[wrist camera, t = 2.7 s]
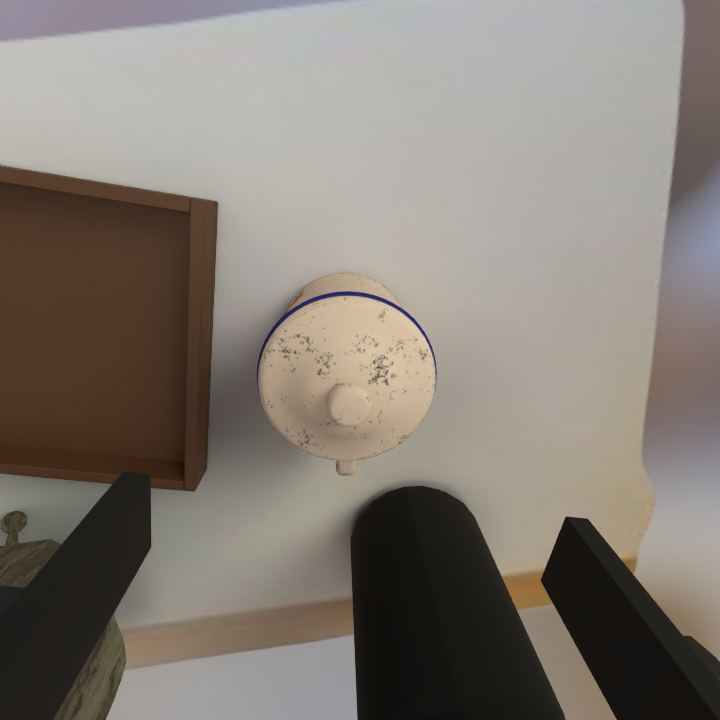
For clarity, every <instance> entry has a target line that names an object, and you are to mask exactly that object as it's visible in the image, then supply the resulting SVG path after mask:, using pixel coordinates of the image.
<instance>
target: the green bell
mask: <svg viewBox="0 0 720 720" xmlns="http://www.w3.org/2000/svg"><path fill="white" fill-rule="evenodd" d="M26 524H27V516H26V515H25V514H24V513H23V512H19V511H14V512H11V513H8V514H6V516H5V517H4V518H3V519H2V520H1V522H0V529H1V530H2V531H4V532H5V533H8V537H7V541H6V545H5V546H0V586H10V587H23V588H26V587H27V585H28V584H29V583H30V582H31V581H32V579H33V578H34V577H35V576H36V575H37V573H38V572H39V571H40V570H41V569H42V567H43V566H44V565H45V564H46V563H47V562H48V560H49V559H50V558H51V557H52V556H53V554H54V553H55V552H56V551H57V550H58V548H59V547H60V546H61V544H59V543H57V542H55V541H53V540H52V539H48V540H41V541H34V542H27V543H20V544H18V532H19V531H21V530H22V529H23V528H24V527H25V525H26ZM125 664H126V654H125V646H124V641H123V638H122V635H121V632H120V629H119V627H118V624H117V622H116V619H115V617H114V614H113V615H112V617H111V619H110V621H109V622H108V624H107V626H106V628H105V629H104V631H103V633H102V635H101V636H100V638H99V640H98V642H97V643H96V645H95V647H94V649H93V651H92V652H91V654H90V656H89V658H88V659H87V661H86V663H85V665H84V666H83V668H82V670H81V672H80V673H79V675H78V677H77V679H76V680H75V682H74V684H73V686H72V688H71V689H70V691H69V693H68V695H67V696H66V698H65V700H64V702H63V703H62V705H61V707H60V709H59V710H58V712H57V714H56V716H55V718H54V719H53V720H106V717H107V715H108V713H109V710H110V708H111V706H112V703H113V701H114V698H115V696H116V693H117V690H118V687H119V685H120V682H121V678H122V675H123V671H124V668H125Z"/></svg>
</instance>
